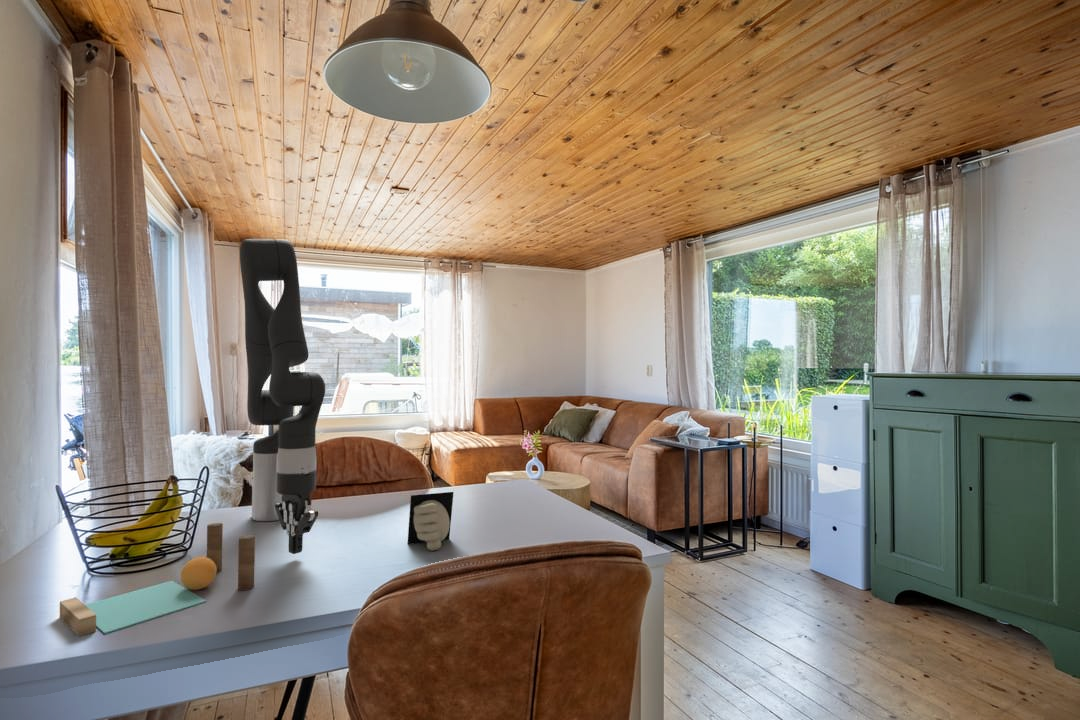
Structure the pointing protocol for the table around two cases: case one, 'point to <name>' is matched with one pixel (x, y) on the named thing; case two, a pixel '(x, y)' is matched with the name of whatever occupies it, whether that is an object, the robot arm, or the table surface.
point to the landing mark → (141, 605)
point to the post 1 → (215, 544)
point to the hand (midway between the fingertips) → (295, 552)
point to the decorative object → (430, 519)
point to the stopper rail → (78, 616)
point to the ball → (198, 573)
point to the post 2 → (246, 562)
